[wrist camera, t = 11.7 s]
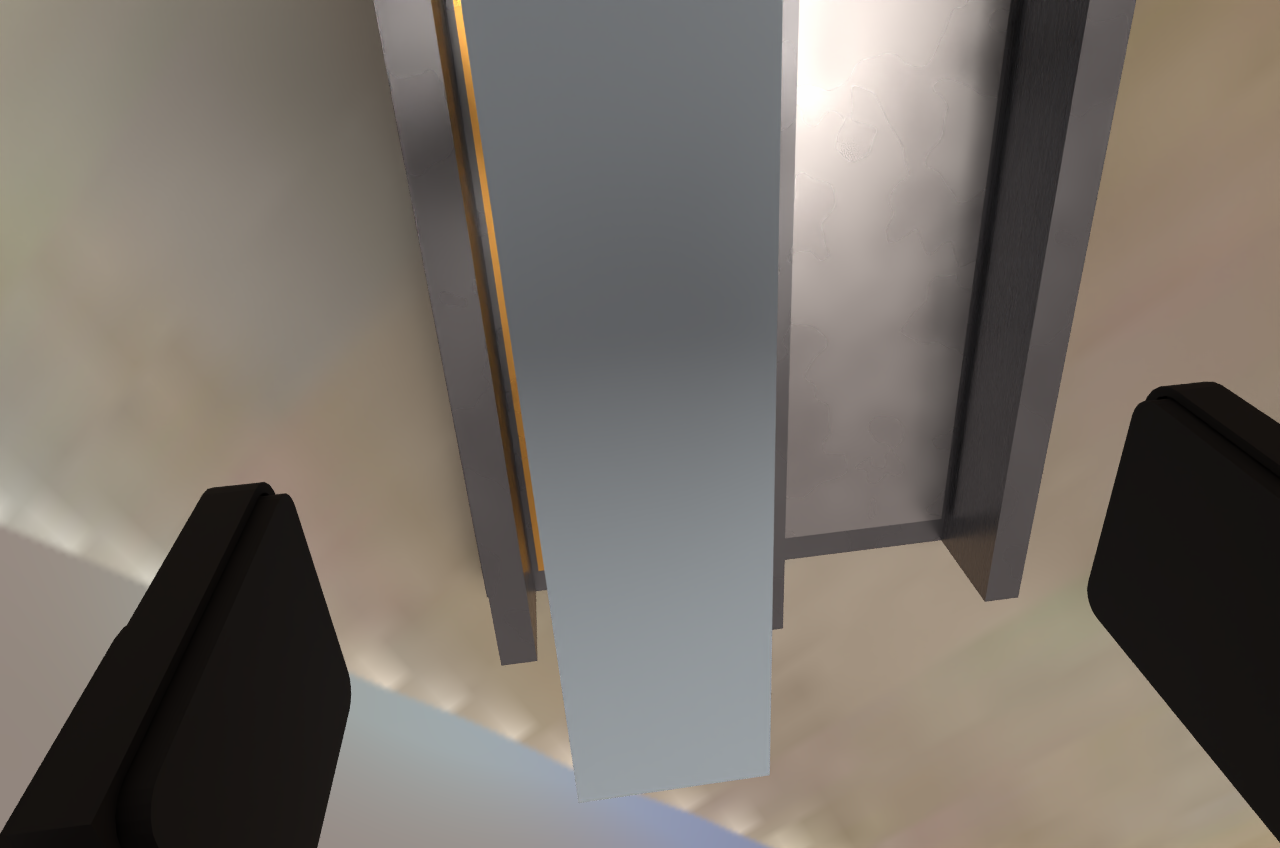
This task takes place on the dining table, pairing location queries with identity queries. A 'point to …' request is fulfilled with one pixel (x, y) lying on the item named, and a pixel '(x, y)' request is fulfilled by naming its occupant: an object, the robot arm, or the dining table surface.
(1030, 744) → the dining table surface
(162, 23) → the dining table surface
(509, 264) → the plate
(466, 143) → the rack
